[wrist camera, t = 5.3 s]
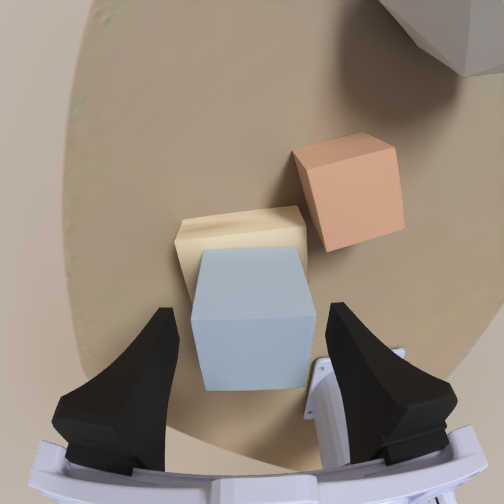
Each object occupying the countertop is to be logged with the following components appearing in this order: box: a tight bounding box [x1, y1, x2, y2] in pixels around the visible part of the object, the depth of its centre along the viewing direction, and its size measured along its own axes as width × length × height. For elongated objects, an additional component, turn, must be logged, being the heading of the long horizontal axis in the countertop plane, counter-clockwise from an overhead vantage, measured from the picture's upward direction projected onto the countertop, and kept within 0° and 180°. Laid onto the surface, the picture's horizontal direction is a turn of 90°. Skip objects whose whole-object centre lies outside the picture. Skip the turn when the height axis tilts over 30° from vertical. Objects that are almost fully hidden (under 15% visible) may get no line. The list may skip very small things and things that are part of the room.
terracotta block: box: [292, 132, 405, 252], centre depth 15 cm, size 4×4×4 cm
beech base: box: [174, 205, 308, 306], centre depth 18 cm, size 6×6×3 cm
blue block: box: [191, 247, 317, 391], centre depth 14 cm, size 4×4×5 cm
